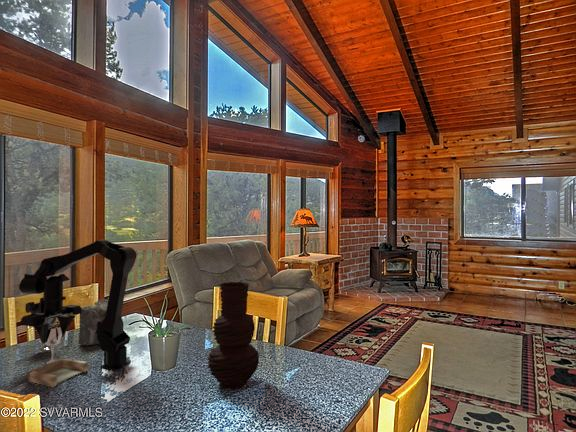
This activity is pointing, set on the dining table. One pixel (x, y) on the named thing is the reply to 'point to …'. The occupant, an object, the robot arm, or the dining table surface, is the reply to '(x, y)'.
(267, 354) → the dining table surface
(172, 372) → the dining table surface
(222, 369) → the vase
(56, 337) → the wineglass
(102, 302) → the rock
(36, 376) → the u rest
